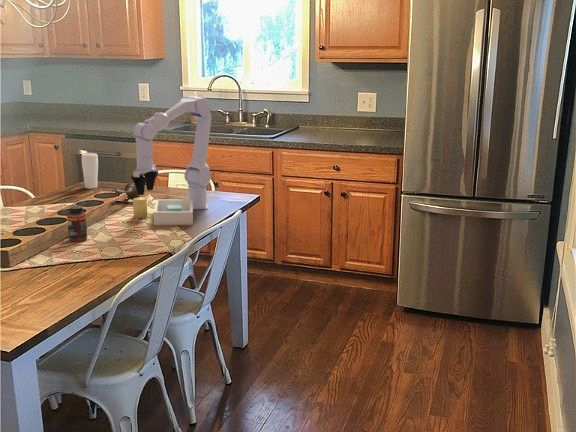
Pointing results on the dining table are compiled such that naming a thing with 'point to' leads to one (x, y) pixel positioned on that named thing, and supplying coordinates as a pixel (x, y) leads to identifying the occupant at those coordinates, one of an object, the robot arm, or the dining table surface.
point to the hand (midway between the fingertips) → (145, 192)
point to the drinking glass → (90, 169)
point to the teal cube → (174, 208)
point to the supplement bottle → (77, 224)
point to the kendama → (129, 191)
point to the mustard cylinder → (140, 207)
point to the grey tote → (173, 213)
